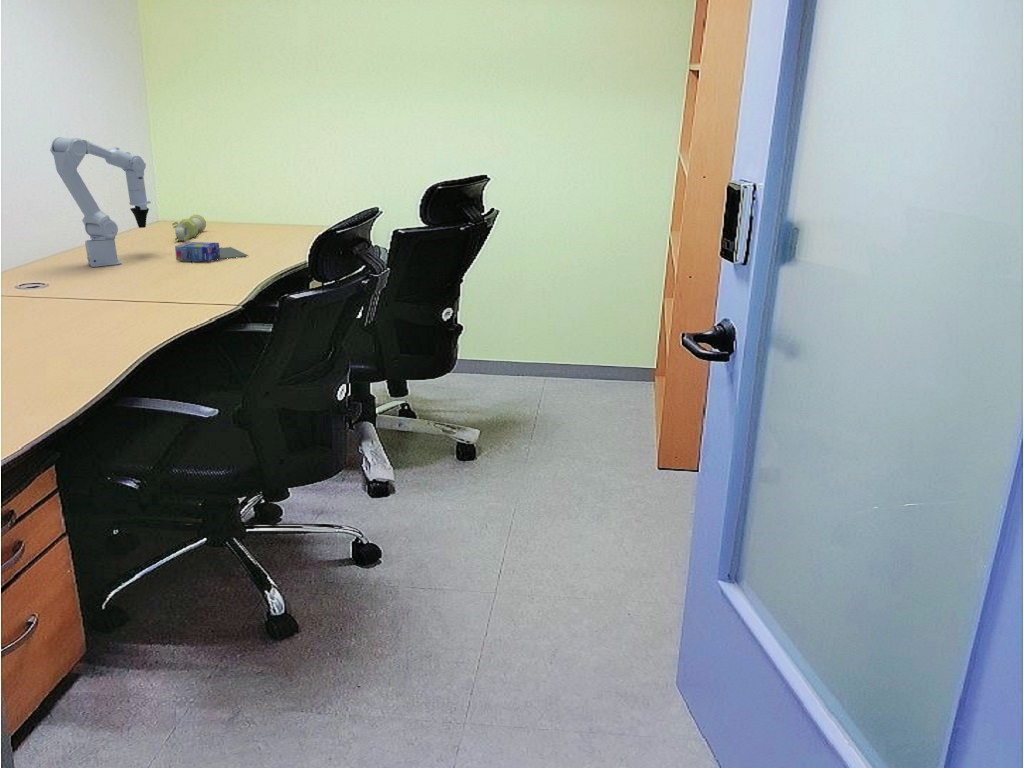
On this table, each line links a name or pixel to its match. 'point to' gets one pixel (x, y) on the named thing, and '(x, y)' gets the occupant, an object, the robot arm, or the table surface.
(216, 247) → the ink cartridge box
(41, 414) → the table surface
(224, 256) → the desk mat
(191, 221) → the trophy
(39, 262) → the table surface
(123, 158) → the robot arm
